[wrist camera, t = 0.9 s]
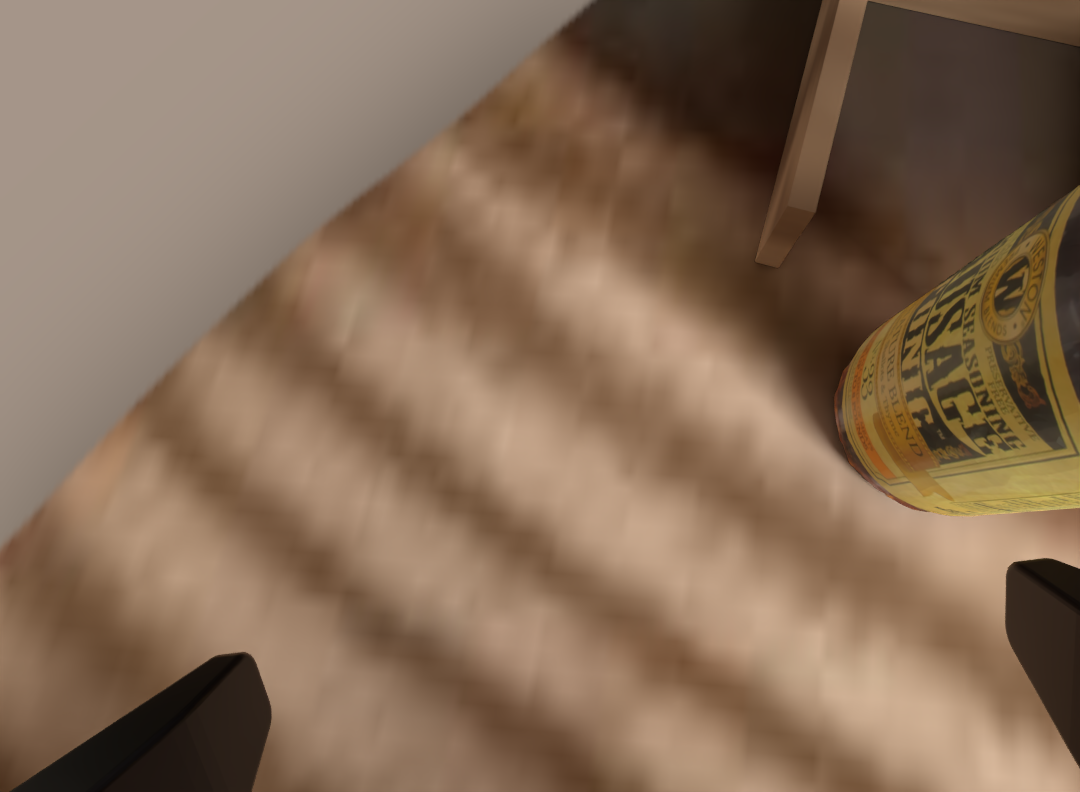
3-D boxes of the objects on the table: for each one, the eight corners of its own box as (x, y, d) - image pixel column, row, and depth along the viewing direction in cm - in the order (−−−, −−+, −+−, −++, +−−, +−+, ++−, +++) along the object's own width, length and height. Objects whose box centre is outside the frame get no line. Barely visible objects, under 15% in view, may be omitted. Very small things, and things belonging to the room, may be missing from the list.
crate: (1145, 363, 24) (1256, 322, 20) (754, 261, 25) (787, 205, 21) (1188, 50, 26) (1295, -40, 22) (829, -27, 28) (871, -125, 24)
